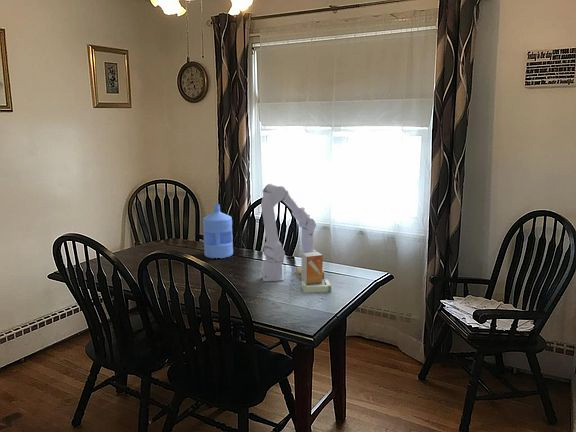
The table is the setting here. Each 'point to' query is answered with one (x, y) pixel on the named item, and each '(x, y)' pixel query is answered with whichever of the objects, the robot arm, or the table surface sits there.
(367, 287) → the table surface
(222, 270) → the table surface
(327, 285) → the tray
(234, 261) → the table surface
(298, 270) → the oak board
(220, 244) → the water jug
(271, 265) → the robot arm
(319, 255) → the small box
